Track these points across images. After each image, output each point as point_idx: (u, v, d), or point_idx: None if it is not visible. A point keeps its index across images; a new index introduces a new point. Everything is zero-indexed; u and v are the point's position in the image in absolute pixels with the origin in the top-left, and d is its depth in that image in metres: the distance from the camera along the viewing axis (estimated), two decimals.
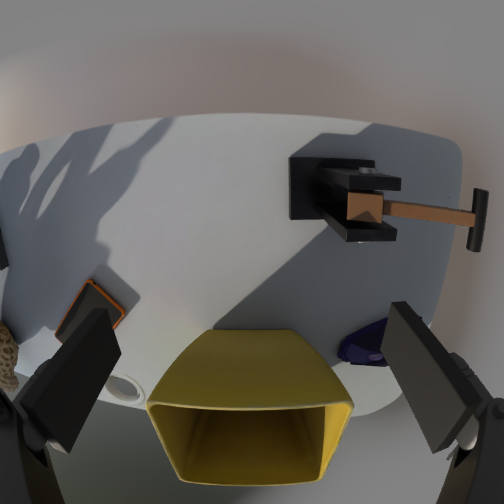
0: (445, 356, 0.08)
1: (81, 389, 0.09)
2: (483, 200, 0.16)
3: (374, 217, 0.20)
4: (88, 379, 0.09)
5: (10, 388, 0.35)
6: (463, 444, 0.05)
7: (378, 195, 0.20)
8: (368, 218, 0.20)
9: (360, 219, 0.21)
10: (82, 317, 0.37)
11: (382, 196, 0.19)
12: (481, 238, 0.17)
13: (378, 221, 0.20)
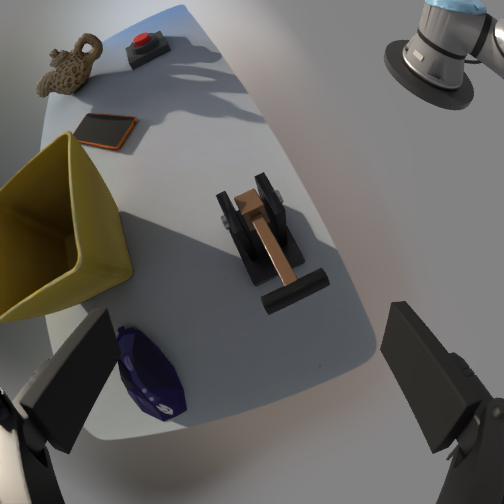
0: (445, 356, 0.08)
1: (81, 389, 0.09)
2: (314, 276, 0.20)
3: (244, 208, 0.26)
4: (88, 379, 0.09)
5: (39, 89, 0.46)
6: (463, 444, 0.05)
7: (261, 202, 0.26)
8: (241, 206, 0.26)
9: (237, 203, 0.26)
10: (106, 124, 0.47)
11: (262, 204, 0.25)
12: (279, 299, 0.20)
13: (242, 212, 0.25)
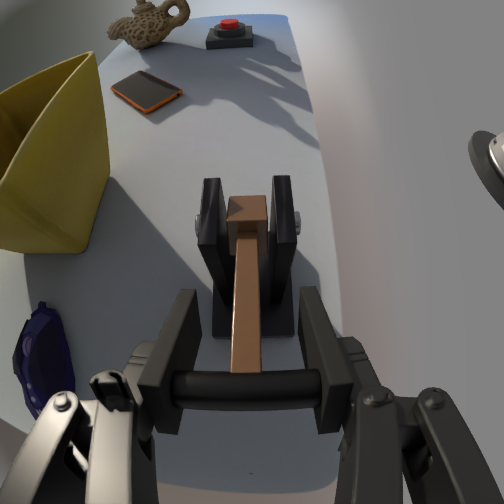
0: (329, 337, 0.10)
1: (184, 366, 0.10)
2: (297, 380, 0.08)
3: (234, 214, 0.15)
4: (187, 357, 0.11)
5: (111, 29, 0.44)
6: (346, 435, 0.07)
7: (266, 216, 0.15)
8: (232, 210, 0.16)
9: (230, 204, 0.16)
10: (150, 86, 0.41)
11: (265, 219, 0.15)
12: (206, 393, 0.08)
13: (228, 218, 0.15)
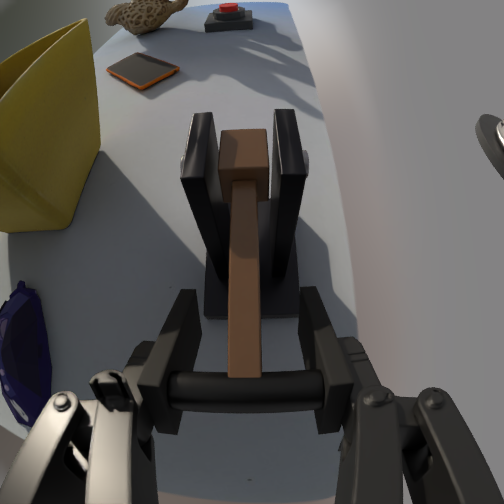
0: (330, 337, 0.10)
1: (184, 366, 0.10)
2: (300, 390, 0.08)
3: (227, 158, 0.12)
4: (187, 357, 0.11)
5: (108, 15, 0.41)
6: (346, 435, 0.07)
7: (267, 161, 0.12)
8: (225, 152, 0.12)
9: (222, 143, 0.12)
10: (147, 65, 0.38)
11: (266, 166, 0.12)
12: (204, 403, 0.08)
13: (220, 164, 0.12)
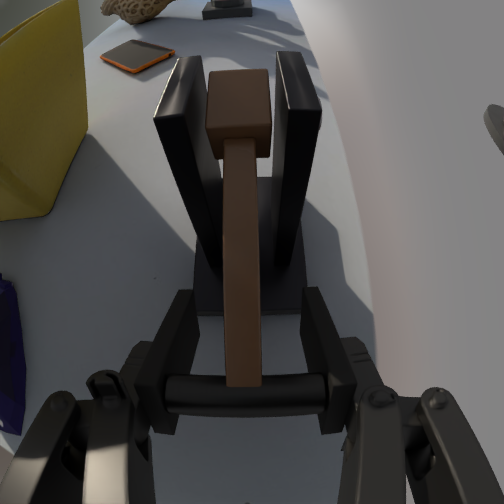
0: (332, 337, 0.10)
1: (181, 367, 0.10)
2: (301, 401, 0.08)
3: (217, 112, 0.09)
4: (185, 357, 0.11)
5: (104, 4, 0.38)
6: (349, 435, 0.07)
7: (269, 115, 0.09)
8: (215, 102, 0.09)
9: (211, 89, 0.09)
10: (141, 50, 0.35)
11: (268, 123, 0.09)
12: (203, 412, 0.08)
13: (208, 121, 0.09)
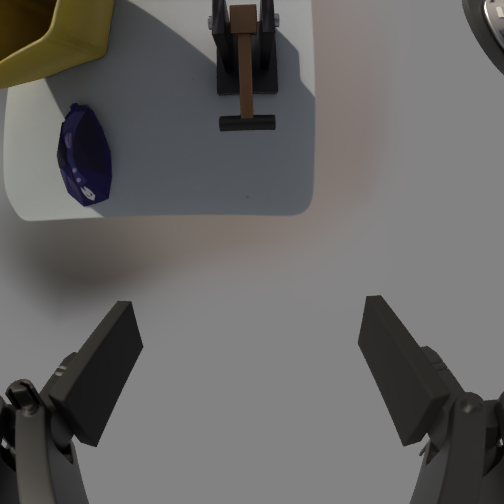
0: (415, 348, 0.08)
1: (108, 381, 0.09)
2: (266, 123, 0.23)
3: (235, 26, 0.18)
4: (114, 371, 0.10)
5: None
6: (434, 440, 0.06)
7: (256, 27, 0.18)
8: (234, 21, 0.17)
9: (231, 15, 0.17)
10: None
11: (255, 31, 0.18)
12: (233, 128, 0.24)
13: (232, 30, 0.18)
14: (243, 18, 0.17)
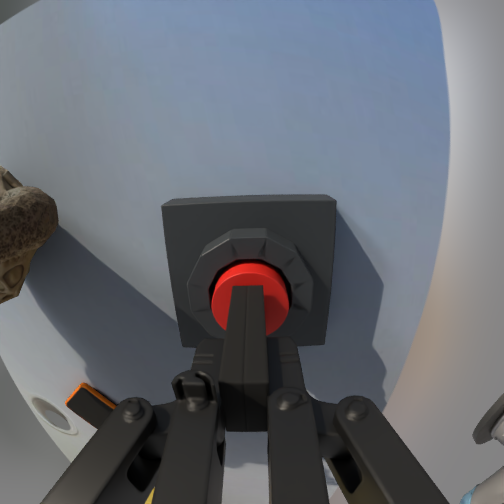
0: (259, 335, 0.10)
1: None
2: None
3: None
4: None
5: None
6: (269, 439, 0.07)
7: None
8: None
9: None
10: None
11: None
12: None
13: None
14: None
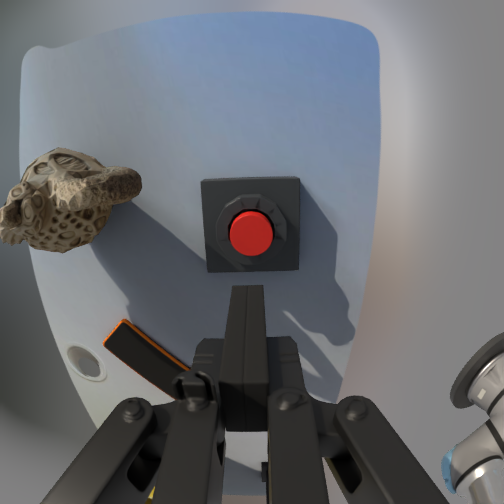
0: (259, 335, 0.10)
1: None
2: None
3: None
4: None
5: None
6: (269, 439, 0.07)
7: None
8: None
9: None
10: (166, 370, 0.38)
11: None
12: None
13: None
14: None
